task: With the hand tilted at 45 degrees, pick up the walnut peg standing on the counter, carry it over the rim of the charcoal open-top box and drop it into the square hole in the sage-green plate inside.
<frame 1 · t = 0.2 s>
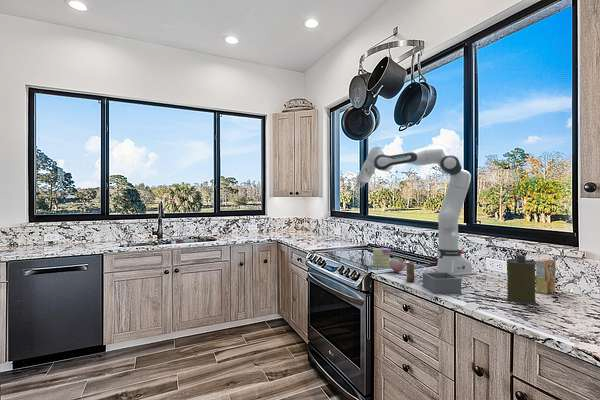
hand: (358, 187, 214), 54 cm above the worktop, tool tilted 30°, fingers open, 8 cm apart
socket box: (441, 289, 153), on the worktop
decorative fruit: (396, 272, 190), on the worktop
box: (381, 266, 208), on the worktop
fork: (415, 266, 209), on the worktop
candy box: (545, 292, 148), on the worktop
canister: (521, 300, 136), on the worktop
walnut peg: (410, 281, 169), on the worktop
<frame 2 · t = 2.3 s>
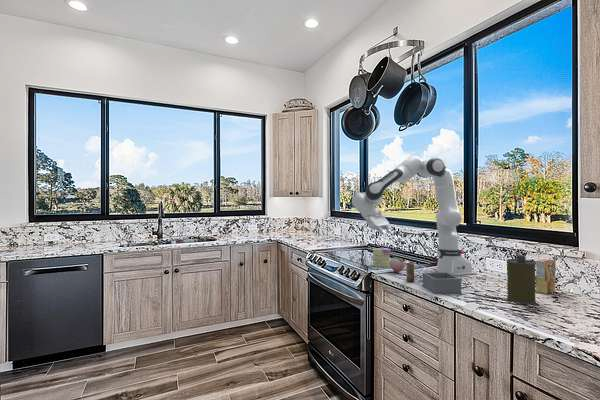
hand: (387, 233, 177), 26 cm above the worktop, tool tilted 45°, fingers open, 8 cm apart
nothing on the worktop moved.
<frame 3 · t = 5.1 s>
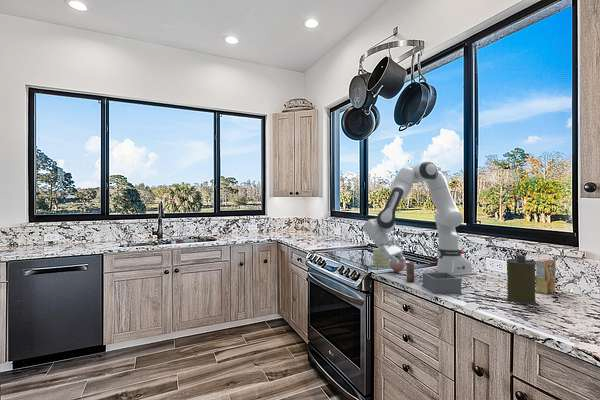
hand: (401, 262, 172), 10 cm above the worktop, tool tilted 45°, fingers open, 8 cm apart
nothing on the worktop moved.
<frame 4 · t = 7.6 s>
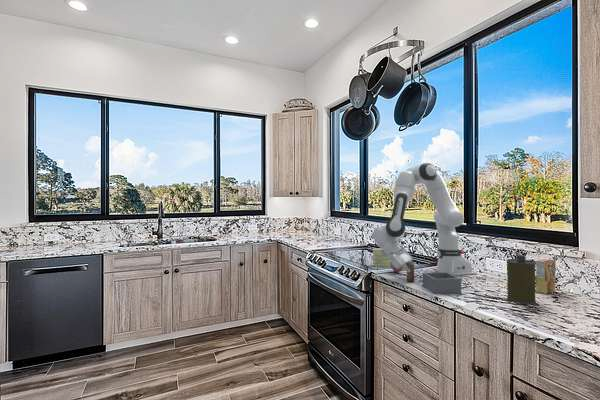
hand: (411, 270, 168), 6 cm above the worktop, tool tilted 45°, fingers closed on walnut peg, 4 cm apart
walnut peg: (410, 281, 169), on the worktop, touching gripper
everything else where it was.
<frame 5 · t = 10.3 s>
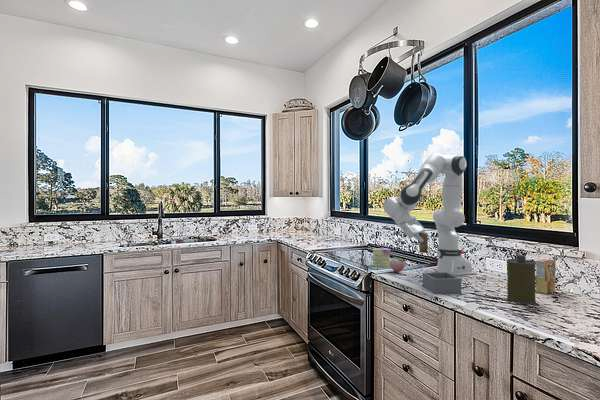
hand: (424, 241, 161), 23 cm above the worktop, tool tilted 45°, fingers closed on walnut peg, 4 cm apart
walnut peg: (423, 252, 161), point 17 cm above the worktop, touching gripper
everything else where it was.
when the fingers open (8 cm above the worktop, at t = 13.3 s): walnut peg drops 2 cm, resting in socket box.
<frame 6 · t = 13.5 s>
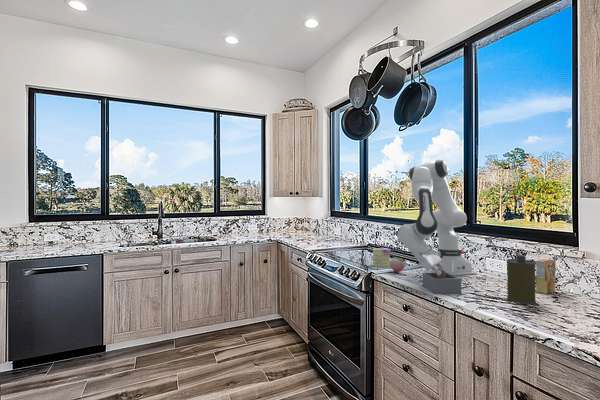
hand: (442, 273, 153), 8 cm above the worktop, tool tilted 45°, fingers open, 6 cm apart
walnut peg: (441, 289, 153), resting in socket box
everything else where it was.
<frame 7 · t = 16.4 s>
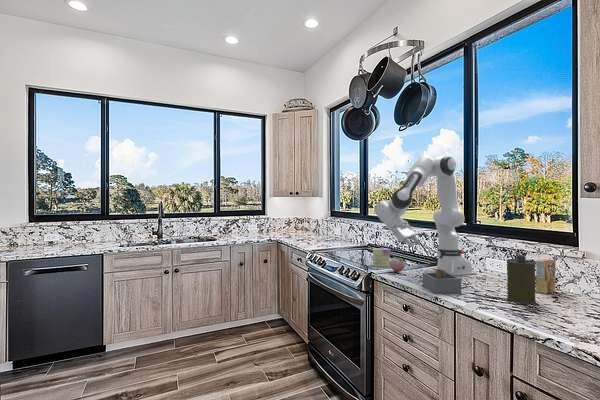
hand: (415, 245, 160), 21 cm above the worktop, tool tilted 45°, fingers open, 8 cm apart
nothing on the worktop moved.
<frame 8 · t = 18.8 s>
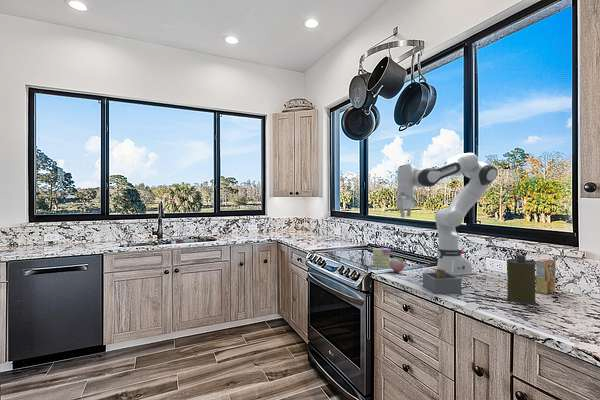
hand: (405, 217, 175), 35 cm above the worktop, tool pointing down, fingers open, 8 cm apart
nothing on the worktop moved.
at the end: walnut peg 0.0 cm from the socket box (horizontally); walnut peg resting in socket box; walnut peg tilted 0° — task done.
